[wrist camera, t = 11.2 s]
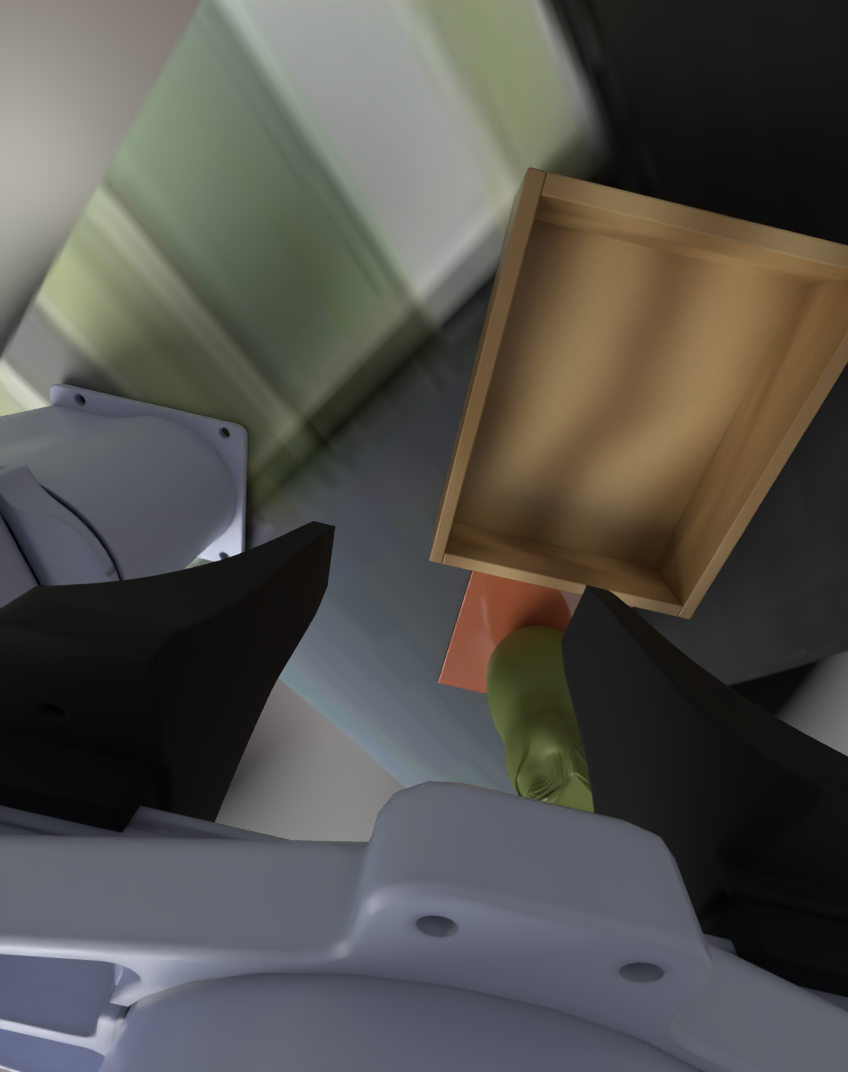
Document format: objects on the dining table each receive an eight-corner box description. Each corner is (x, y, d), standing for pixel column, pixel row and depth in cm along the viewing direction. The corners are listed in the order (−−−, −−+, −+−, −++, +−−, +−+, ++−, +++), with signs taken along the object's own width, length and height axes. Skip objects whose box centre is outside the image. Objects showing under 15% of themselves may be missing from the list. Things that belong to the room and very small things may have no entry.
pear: (466, 634, 26) (468, 804, 17) (545, 589, 24) (595, 753, 15) (520, 692, 27) (547, 875, 18) (597, 655, 25) (669, 837, 17)
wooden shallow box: (433, 525, 23) (428, 561, 20) (514, 196, 17) (528, 165, 13) (657, 576, 23) (690, 619, 20) (821, 271, 17) (911, 260, 14)
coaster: (438, 678, 28) (438, 683, 27) (475, 558, 24) (475, 562, 23) (575, 708, 28) (576, 713, 28) (635, 594, 24) (637, 598, 24)
